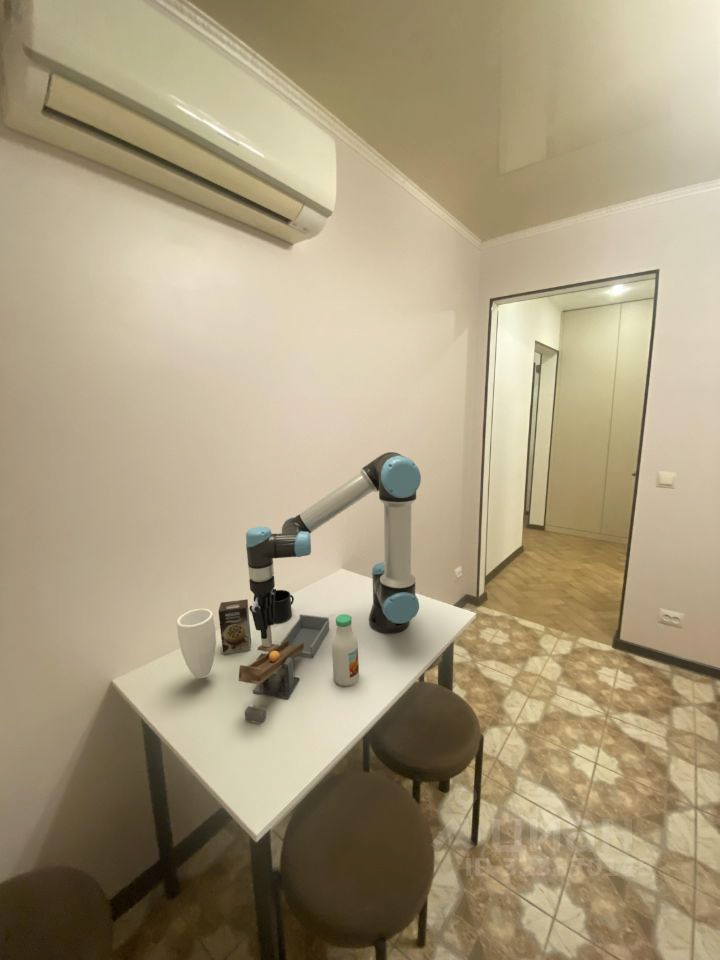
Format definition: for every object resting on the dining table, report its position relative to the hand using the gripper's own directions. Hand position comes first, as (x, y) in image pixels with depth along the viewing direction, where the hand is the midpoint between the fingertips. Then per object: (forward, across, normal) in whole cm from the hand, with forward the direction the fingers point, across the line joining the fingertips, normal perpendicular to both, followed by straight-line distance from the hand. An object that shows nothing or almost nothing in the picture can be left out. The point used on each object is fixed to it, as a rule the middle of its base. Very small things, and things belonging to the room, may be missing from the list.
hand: (267, 644), depth 124 cm
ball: (-4, +10, +8) cm, 14 cm away
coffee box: (+6, -4, -14) cm, 15 cm away
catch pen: (+5, -12, +8) cm, 16 cm away
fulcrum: (+6, +10, +8) cm, 14 cm away
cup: (+6, +13, -15) cm, 21 cm away
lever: (-1, +11, +5) cm, 12 cm away
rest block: (+6, +22, +8) cm, 24 cm away
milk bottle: (+6, +2, +27) cm, 28 cm away
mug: (+6, -26, -8) cm, 28 cm away
